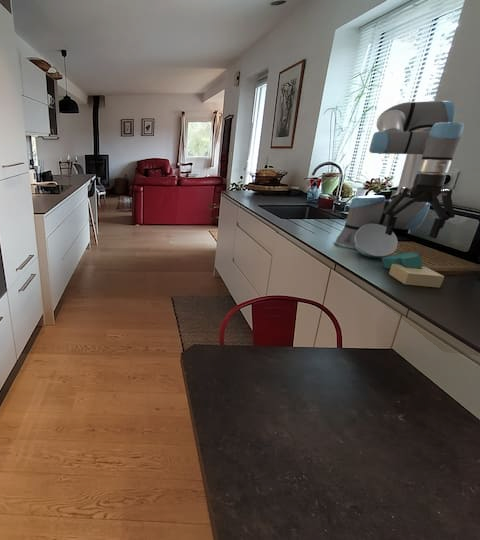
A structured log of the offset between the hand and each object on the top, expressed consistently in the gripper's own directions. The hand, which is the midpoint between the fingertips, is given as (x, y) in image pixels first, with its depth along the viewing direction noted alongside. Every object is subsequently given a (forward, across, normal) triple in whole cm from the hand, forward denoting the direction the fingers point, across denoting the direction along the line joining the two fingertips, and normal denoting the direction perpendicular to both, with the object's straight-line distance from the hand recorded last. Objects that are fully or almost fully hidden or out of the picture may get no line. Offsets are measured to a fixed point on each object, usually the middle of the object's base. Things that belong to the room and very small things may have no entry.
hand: (410, 235), depth 115 cm
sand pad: (+13, 0, -10) cm, 16 cm away
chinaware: (+11, -2, +22) cm, 25 cm away
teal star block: (+11, +1, -2) cm, 11 cm away
